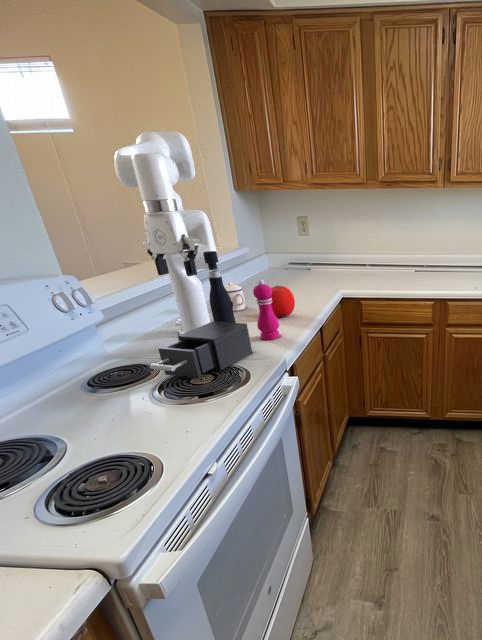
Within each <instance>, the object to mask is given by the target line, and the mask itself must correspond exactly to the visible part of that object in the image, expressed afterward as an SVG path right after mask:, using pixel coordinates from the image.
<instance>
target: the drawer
mask: <svg viewBox="0 0 482 640" xmlns="http://www.w3.org/2000/svg"><path fill="white" fill-rule="evenodd" d="M188 349H194V350H188ZM157 350H158V353H159V357H160V361H158V362H156V363H150V364H149V368H150V369H151V370H157V371H164V374H165V376H172V377H173V376H174V377H176V376H175V375H184V376H190V377H188V378H191V377H193V378H191V379H198V380H199V379H202V378H203V376H202V375H203V374H205V373H207V372H209V371H211V370H210V369H212V368H214V367H216V366H218V364H217V360H216V355H215V351H214V347H213V343H212V341H201V340H190V339H183V340H181V341H179V340H178V341H176V342H174V343H171V344H169V345H167V346H160V347H158V348H157ZM180 377H182V378H184V377H183V376H180Z"/></svg>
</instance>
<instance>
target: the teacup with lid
mask: <svg viewBox="0 0 482 640" xmlns="http://www.w3.org/2000/svg"><path fill="white" fill-rule="evenodd" d="M224 287H225V289H226V291H227V292H228V294H229V297H230V299H231V303H232V308H233V312H239V311H242V310H245V309H246V304H245V303H246V298H245V296H244V292H243V287H242V286H240V285H237V284H233V282H232V281H228V282H227V284H226V285H224Z"/></svg>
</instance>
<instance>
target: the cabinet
mask: <svg viewBox="0 0 482 640" xmlns="http://www.w3.org/2000/svg"><path fill="white" fill-rule="evenodd" d="M177 339H178V341H181V340H183V339H190V340H201V341H212V343H213V347H214V351H215V355H216V360H217V364H218V366H216V367H214V368H213V369H211V370H213V371H220V372H222V371H223V370H225V369H226V368H228V367H230V366H232V365H233V364H235V363H237V362H239V361H241V360H242V359H244V358H246V357H247V356H249V355H251V354H253V348H252V344H251V339H250V333H249V328H248V324H247V323H244V322H243V323H242V322H235V323H230V322H216V321H214V320H212V321H210V323H208V324H205V325H203V326H201V327H198V328H196V329H193V330H191V331H188V332H186V333H184V334H181V335H180V334H179V335H177ZM221 366H222V367H221ZM211 370H210V371H211Z"/></svg>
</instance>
